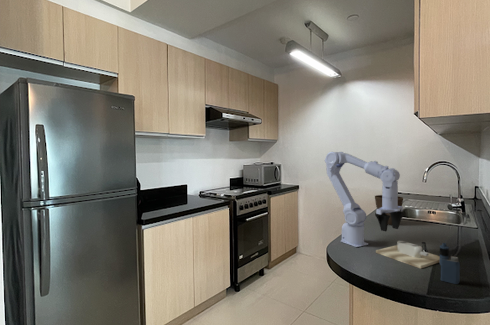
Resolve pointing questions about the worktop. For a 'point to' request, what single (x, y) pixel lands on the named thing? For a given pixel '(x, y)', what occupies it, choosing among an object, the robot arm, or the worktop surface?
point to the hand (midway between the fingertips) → (389, 229)
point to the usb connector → (410, 249)
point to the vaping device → (449, 266)
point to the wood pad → (409, 257)
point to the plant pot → (379, 204)
